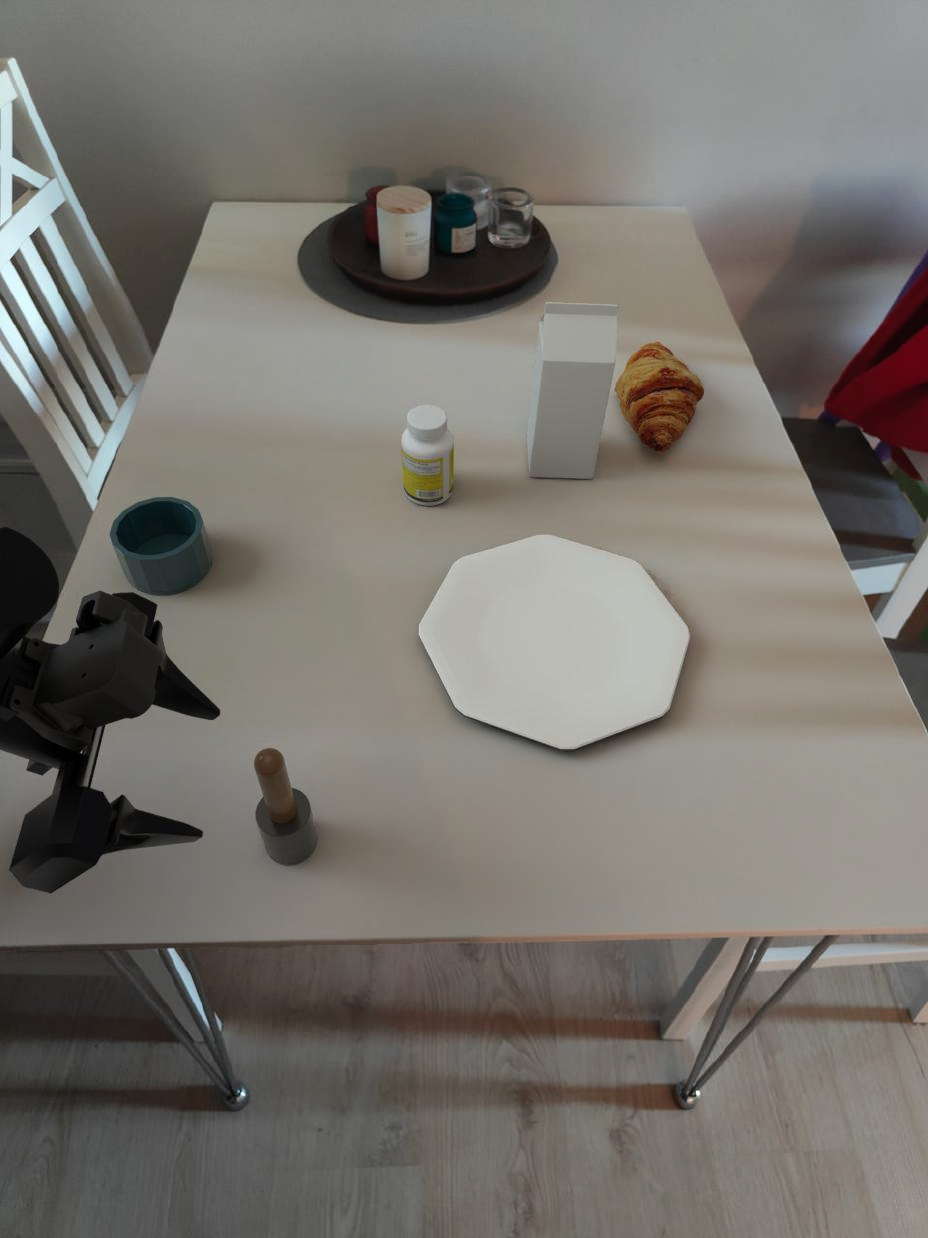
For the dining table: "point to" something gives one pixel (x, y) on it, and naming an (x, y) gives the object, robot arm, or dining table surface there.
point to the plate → (555, 641)
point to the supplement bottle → (427, 456)
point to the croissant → (658, 395)
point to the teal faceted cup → (162, 545)
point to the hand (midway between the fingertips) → (208, 773)
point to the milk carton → (570, 388)
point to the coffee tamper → (283, 812)
